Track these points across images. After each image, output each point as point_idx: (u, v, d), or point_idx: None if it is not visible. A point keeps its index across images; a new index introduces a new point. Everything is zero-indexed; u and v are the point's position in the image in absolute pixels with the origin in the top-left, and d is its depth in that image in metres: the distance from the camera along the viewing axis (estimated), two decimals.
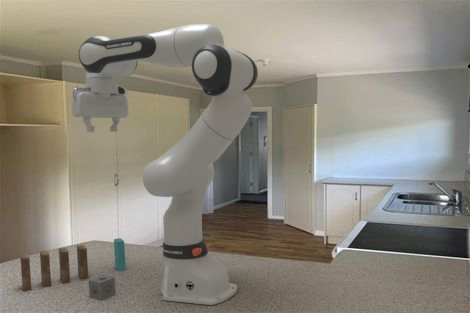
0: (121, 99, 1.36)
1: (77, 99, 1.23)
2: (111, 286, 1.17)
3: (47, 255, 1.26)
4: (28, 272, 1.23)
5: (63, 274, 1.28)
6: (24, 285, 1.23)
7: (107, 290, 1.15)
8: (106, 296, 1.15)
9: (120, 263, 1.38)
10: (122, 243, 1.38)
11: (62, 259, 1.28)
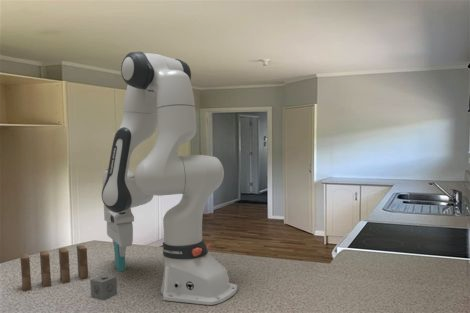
0: (116, 227, 1.33)
1: None
2: (113, 286, 1.17)
3: (47, 255, 1.26)
4: (28, 272, 1.23)
5: (63, 274, 1.28)
6: (24, 285, 1.23)
7: (109, 290, 1.16)
8: (108, 295, 1.15)
9: (120, 263, 1.38)
10: None
11: (62, 259, 1.28)
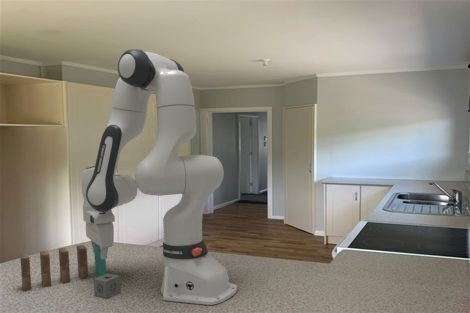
0: None
1: None
2: (116, 285, 1.18)
3: (47, 255, 1.26)
4: (28, 272, 1.23)
5: (63, 274, 1.28)
6: (24, 285, 1.23)
7: (112, 289, 1.16)
8: (111, 294, 1.16)
9: (101, 268, 1.34)
10: None
11: (62, 259, 1.28)
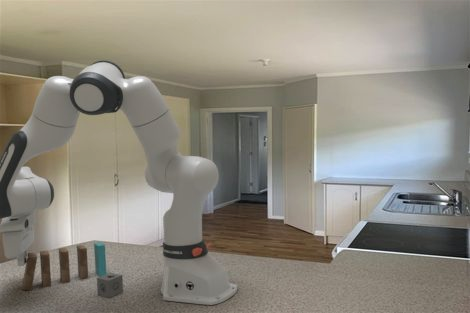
0: None
1: None
2: (119, 284, 1.18)
3: (47, 255, 1.26)
4: (32, 271, 1.24)
5: (63, 274, 1.28)
6: (25, 284, 1.23)
7: (115, 288, 1.17)
8: (114, 294, 1.17)
9: (101, 268, 1.34)
10: (103, 247, 1.34)
11: (62, 259, 1.28)
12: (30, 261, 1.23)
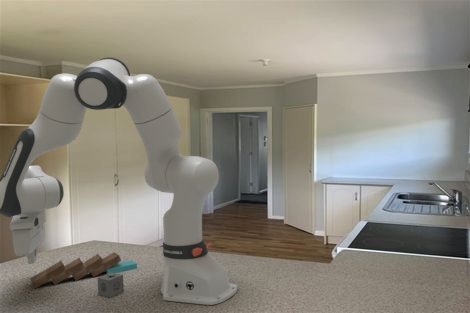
0: None
1: None
2: (120, 284, 1.18)
3: (83, 266, 1.31)
4: (51, 277, 1.27)
5: (81, 271, 1.31)
6: (37, 280, 1.25)
7: (116, 287, 1.17)
8: (115, 293, 1.17)
9: (115, 269, 1.36)
10: (134, 268, 1.40)
11: (95, 262, 1.33)
12: (59, 268, 1.28)
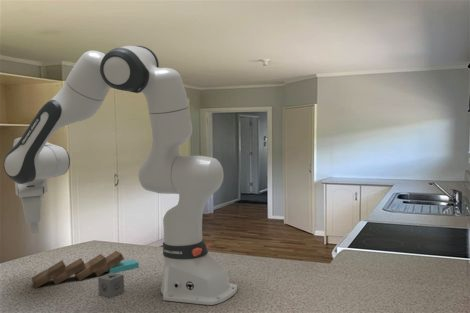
0: None
1: None
2: (120, 284, 1.18)
3: (84, 266, 1.31)
4: (52, 276, 1.27)
5: (85, 271, 1.31)
6: (39, 280, 1.25)
7: (116, 287, 1.17)
8: (115, 293, 1.17)
9: (117, 269, 1.37)
10: (136, 267, 1.41)
11: (99, 262, 1.33)
12: (60, 268, 1.28)
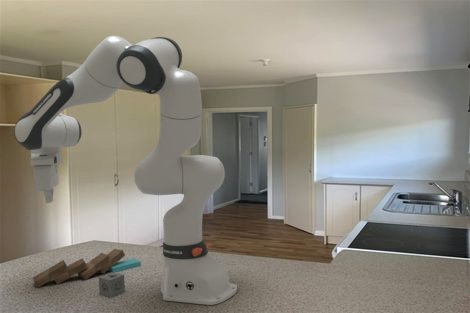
0: None
1: None
2: (121, 283, 1.19)
3: (86, 266, 1.32)
4: (54, 276, 1.27)
5: (90, 269, 1.32)
6: (40, 279, 1.25)
7: (117, 287, 1.17)
8: (116, 293, 1.17)
9: (120, 268, 1.38)
10: (138, 266, 1.42)
11: (103, 260, 1.35)
12: (61, 267, 1.28)
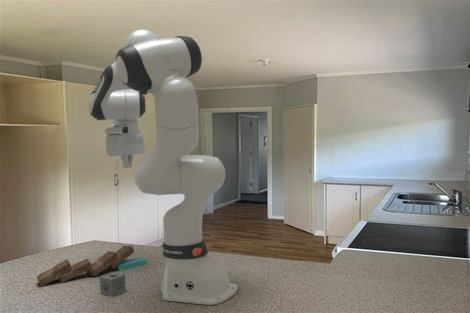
0: None
1: None
2: (122, 283, 1.19)
3: (90, 267, 1.33)
4: (58, 275, 1.28)
5: (99, 266, 1.34)
6: (44, 278, 1.26)
7: (118, 287, 1.17)
8: (117, 293, 1.17)
9: (126, 265, 1.40)
10: (144, 264, 1.44)
11: (111, 257, 1.37)
12: (65, 266, 1.29)
